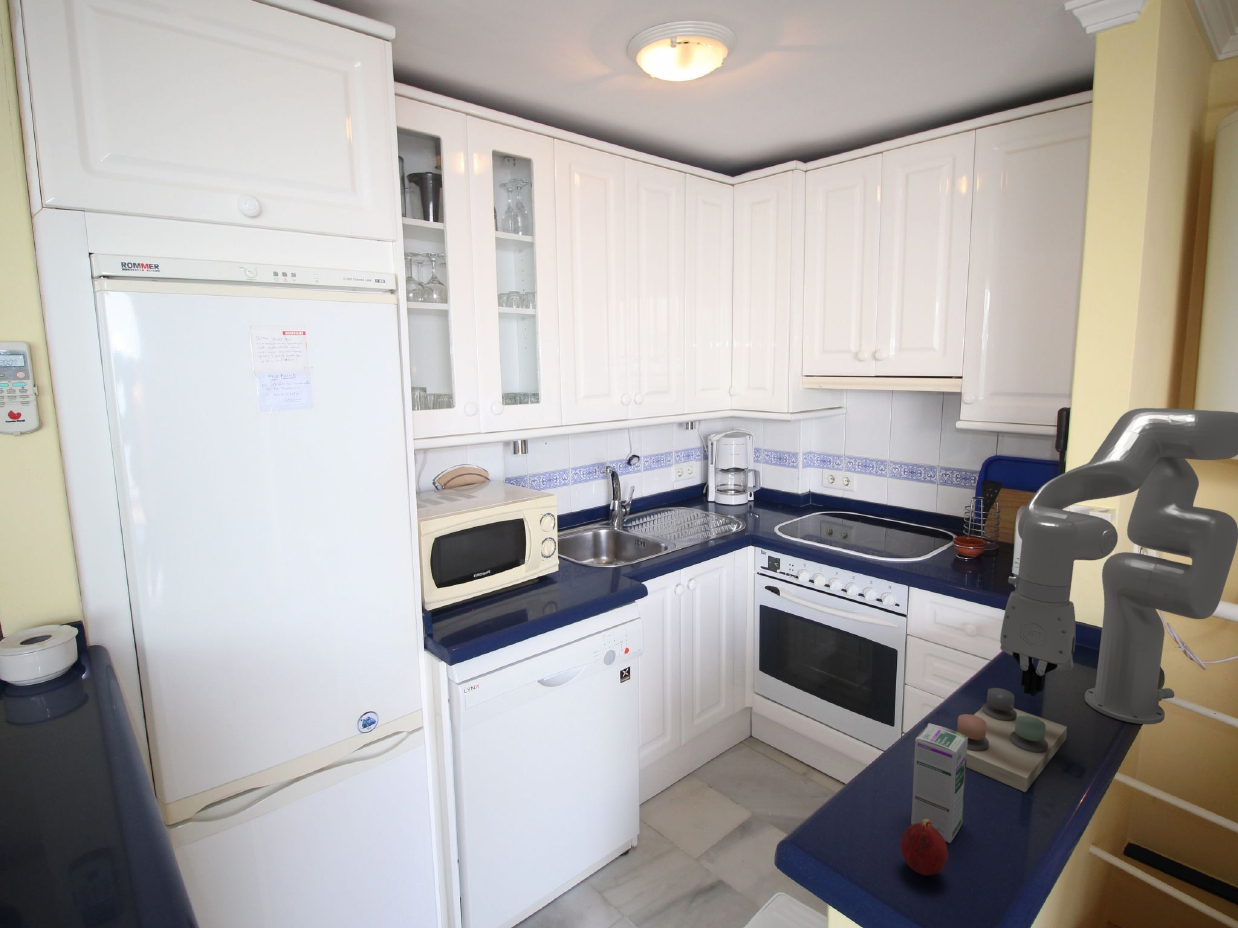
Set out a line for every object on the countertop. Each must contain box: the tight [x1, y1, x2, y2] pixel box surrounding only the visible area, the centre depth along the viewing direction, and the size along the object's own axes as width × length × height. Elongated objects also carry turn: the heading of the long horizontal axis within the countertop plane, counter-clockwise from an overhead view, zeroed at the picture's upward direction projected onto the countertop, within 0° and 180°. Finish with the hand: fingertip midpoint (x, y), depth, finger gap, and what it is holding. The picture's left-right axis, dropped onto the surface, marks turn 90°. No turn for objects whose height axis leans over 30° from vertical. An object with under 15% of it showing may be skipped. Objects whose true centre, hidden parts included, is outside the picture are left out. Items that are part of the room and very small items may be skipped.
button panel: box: [955, 702, 1068, 793], centre depth 117 cm, size 22×13×3 cm, turn 132°
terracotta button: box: [956, 713, 987, 740], centre depth 114 cm, size 4×4×2 cm
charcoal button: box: [986, 687, 1016, 711], centre depth 123 cm, size 4×4×2 cm
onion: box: [900, 819, 949, 876], centre depth 88 cm, size 6×6×8 cm
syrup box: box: [910, 722, 968, 844], centre depth 97 cm, size 6×6×14 cm
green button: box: [1015, 716, 1046, 741], centre depth 114 cm, size 4×4×2 cm
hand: (1031, 691), depth 112 cm, fingers closed
